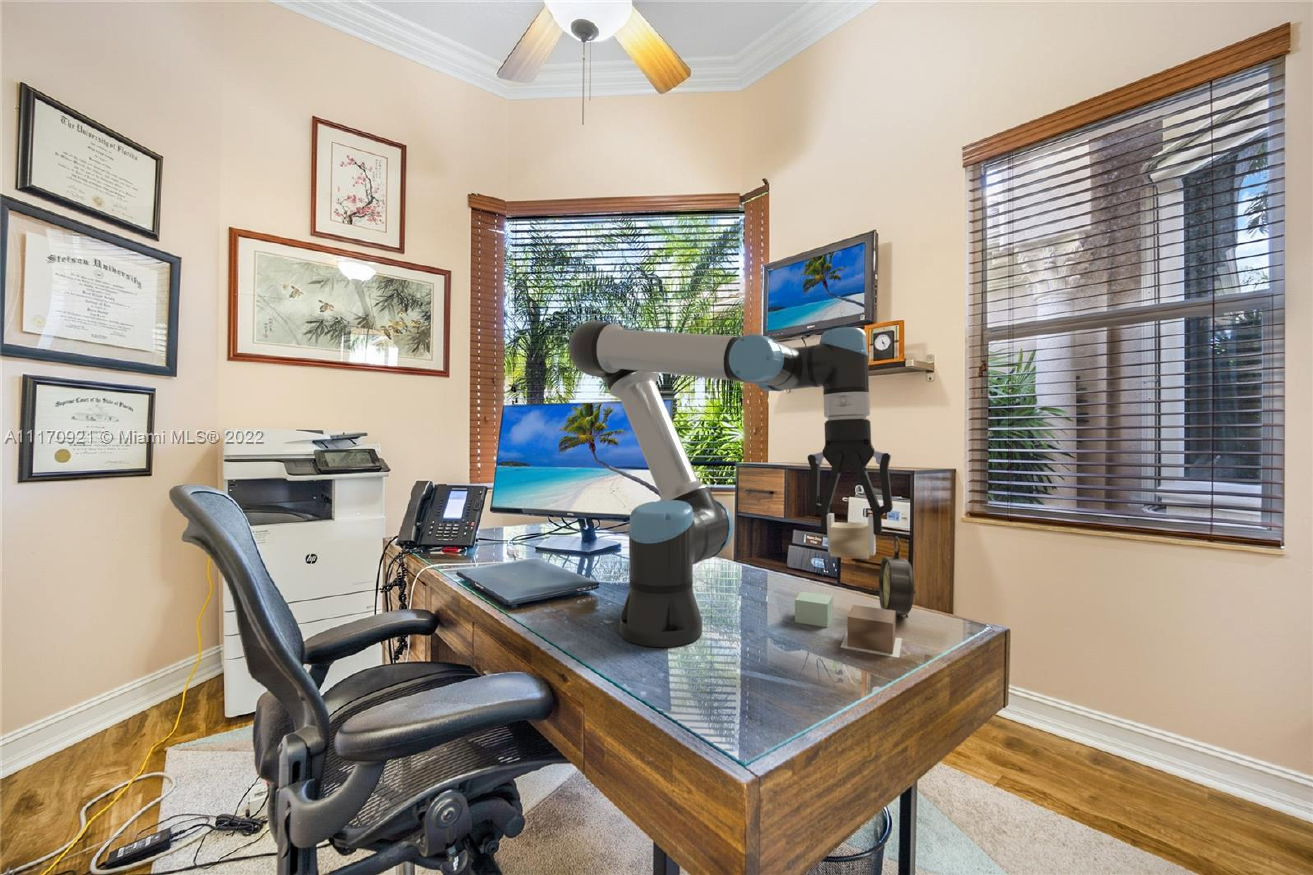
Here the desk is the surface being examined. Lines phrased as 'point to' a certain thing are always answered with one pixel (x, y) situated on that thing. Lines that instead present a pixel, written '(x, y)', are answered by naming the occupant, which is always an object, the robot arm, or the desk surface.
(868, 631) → the walnut brick
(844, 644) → the mat
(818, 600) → the sage brick
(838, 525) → the maple brick
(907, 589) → the alarm clock
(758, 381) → the robot arm
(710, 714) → the desk surface
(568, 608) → the desk surface
